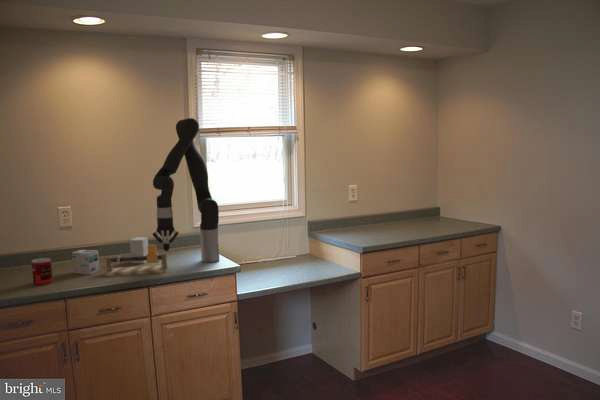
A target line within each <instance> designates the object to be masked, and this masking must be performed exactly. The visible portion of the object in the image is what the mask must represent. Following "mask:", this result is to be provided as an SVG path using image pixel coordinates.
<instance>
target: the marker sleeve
mask: <svg viewBox="0 0 600 400" xmlns="http://www.w3.org/2000/svg"><path fill="white" fill-rule="evenodd" d="M157 250H158V249H157V244H148V253H147V262H146V264H156V263H159V260H158V257H157V255H159V252H157Z"/></svg>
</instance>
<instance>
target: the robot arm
mask: <svg viewBox="0 0 600 400" xmlns="http://www.w3.org/2000/svg"><path fill="white" fill-rule="evenodd" d="M199 131H200V123H199V122H198V121H197V120H196V119H195V118H192V117H190V118H189V117H188V118H184V119H180V120H178V121H177V123H176V125H175V132H176V134H177V138H178V141H177V143H176V144H175V145H174V146H173V147H172V149H171V150H170V151H169V153H168V154H167V156H166V158H165V160H164V163H163V165H162V167H160V168H159V170H158V172H157V173H156V174H155V175H154V177H153V180H152V186H153V188H155V190H159V191H161V192H160V195H157V196H156V223H157V225H156V226H157V228H156V230H155V231H154V232H153V233H152V236H153V237H154V238H155V239H156V240H157V242H158V243H160V244H162V246H163V251H165V252H169V250H170V249H171V248H170V247H171V246H170V244H171V243H173V242H174V240H175V239H176V238H177V237H178V235H179V233H180V232H179V231H178V230H176V229H175V227H174V215H173V204H172V203H173V202H172V196H173V193H174V187H175V182H174V179H173V178H172V177H171V176H172V175H175V174H176V173H177V171H178V169H179V167H180V164H181V162H182V161H183V159H184V158H185V162H186V165H187V169H188V173H189V176H190V180H191V183H192V186H193V189H194V192H195V196H196V203H197V204H196V205H197V208H198V211H199V213H200V225H199V232H200V233H199V235H200V252H201V253H200V255H201V262H202V263H216V262H220V245H219V221H220V220H219V218H220V217H219V216H220V215H219V214H220V213H219V211H220V210H219V205H218V203H217V201H216V200H215V199H213V198H212V194H211V191H210V188H209V175H208V168H207V165H206V161H205V158H204V156H203V155H202V154H201V152H200V151H199V150H198V148H197V146H196V144H195V141H194V139H195V138H196V136H197V135H198V133H199ZM172 234H173V235H172ZM171 236H172V237H171ZM170 237H171V238H170Z"/></svg>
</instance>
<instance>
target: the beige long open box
mask: <svg viewBox="0 0 600 400" xmlns="http://www.w3.org/2000/svg"><path fill="white" fill-rule="evenodd" d="M157 257H158V260H161V265H143V266H140V265H139V266H126V267H113V265H114V264H113V263H116V264H117V265H120V264H121V263H123V262H131V261H143V260H147V256H136V257H131V256H121V254H118V255H117V256H116V257H113V256H111V255H109V256H107V257H106V258H105V260H106V272H105V277H113V276H127V275H128V276H129V275H131V276H132V275H143V274H144V275H145V274H160V273H161V274H163V273H167V271H168V268H169V264H168V261H167V259H168V258H167V257H168V255H167V253H161V254H158V255H157Z"/></svg>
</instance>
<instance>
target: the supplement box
mask: <svg viewBox="0 0 600 400" xmlns="http://www.w3.org/2000/svg"><path fill="white" fill-rule="evenodd" d="M148 239H149V238H148V237H133V238H132V239H130V240H128V241H129V250H130V257H136V256H147V253H148V245H149V240H148ZM130 262H131V264H145V263H147V260H143V261H130Z"/></svg>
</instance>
